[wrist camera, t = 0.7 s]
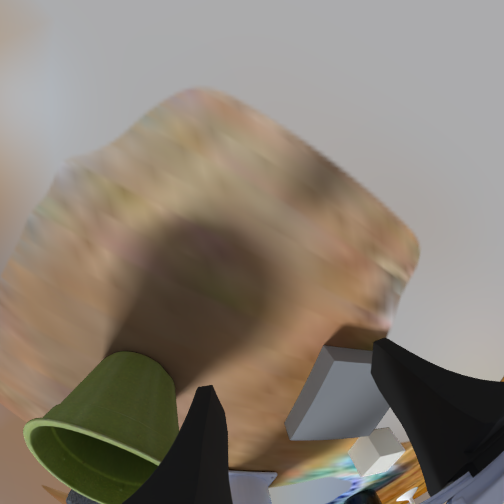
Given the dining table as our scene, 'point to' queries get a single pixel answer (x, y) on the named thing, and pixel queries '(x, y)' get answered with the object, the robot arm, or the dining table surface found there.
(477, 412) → the robot arm
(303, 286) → the dining table surface
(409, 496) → the champagne flute
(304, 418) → the slate slab
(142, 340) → the dining table surface
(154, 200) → the dining table surface
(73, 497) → the koala plush
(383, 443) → the cream block
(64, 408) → the plant pot
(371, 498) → the supplement bottle
